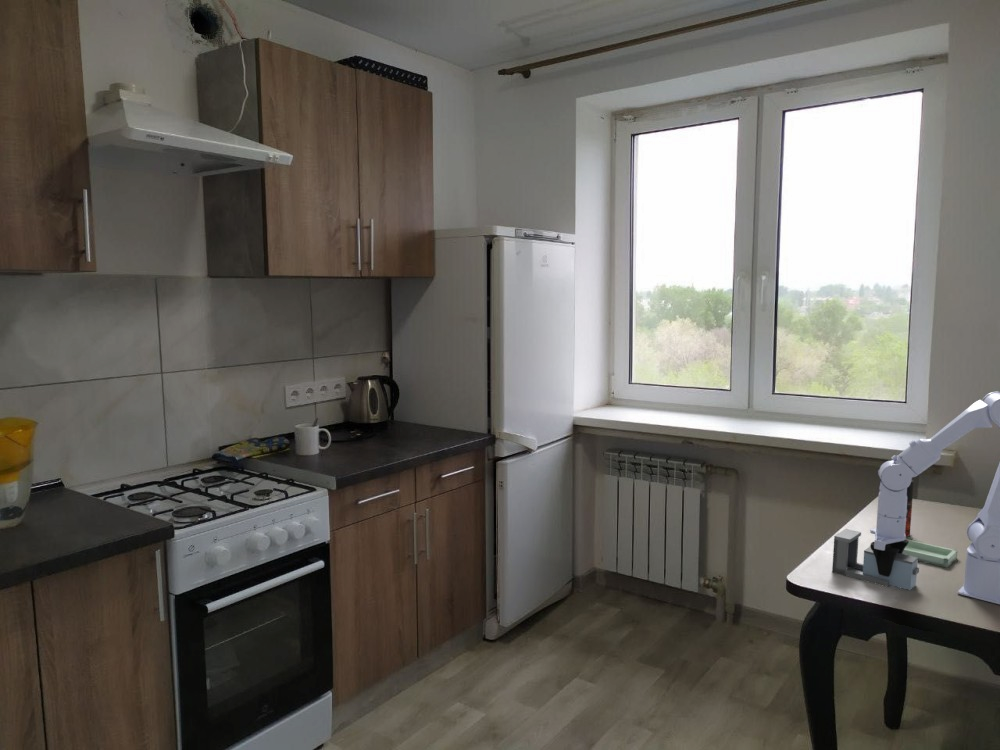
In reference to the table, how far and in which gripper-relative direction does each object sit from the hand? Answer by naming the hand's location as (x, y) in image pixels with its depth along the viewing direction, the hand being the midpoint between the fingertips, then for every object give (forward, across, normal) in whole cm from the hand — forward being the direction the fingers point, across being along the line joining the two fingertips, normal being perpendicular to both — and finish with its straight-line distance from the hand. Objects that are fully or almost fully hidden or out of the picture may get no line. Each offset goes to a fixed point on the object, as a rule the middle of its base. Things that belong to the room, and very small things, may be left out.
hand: (887, 572), depth 164 cm
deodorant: (+2, -37, -9) cm, 38 cm away
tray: (+2, -23, 0) cm, 23 cm away
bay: (+2, 0, -5) cm, 5 cm away
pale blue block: (+2, 0, 0) cm, 2 cm away
